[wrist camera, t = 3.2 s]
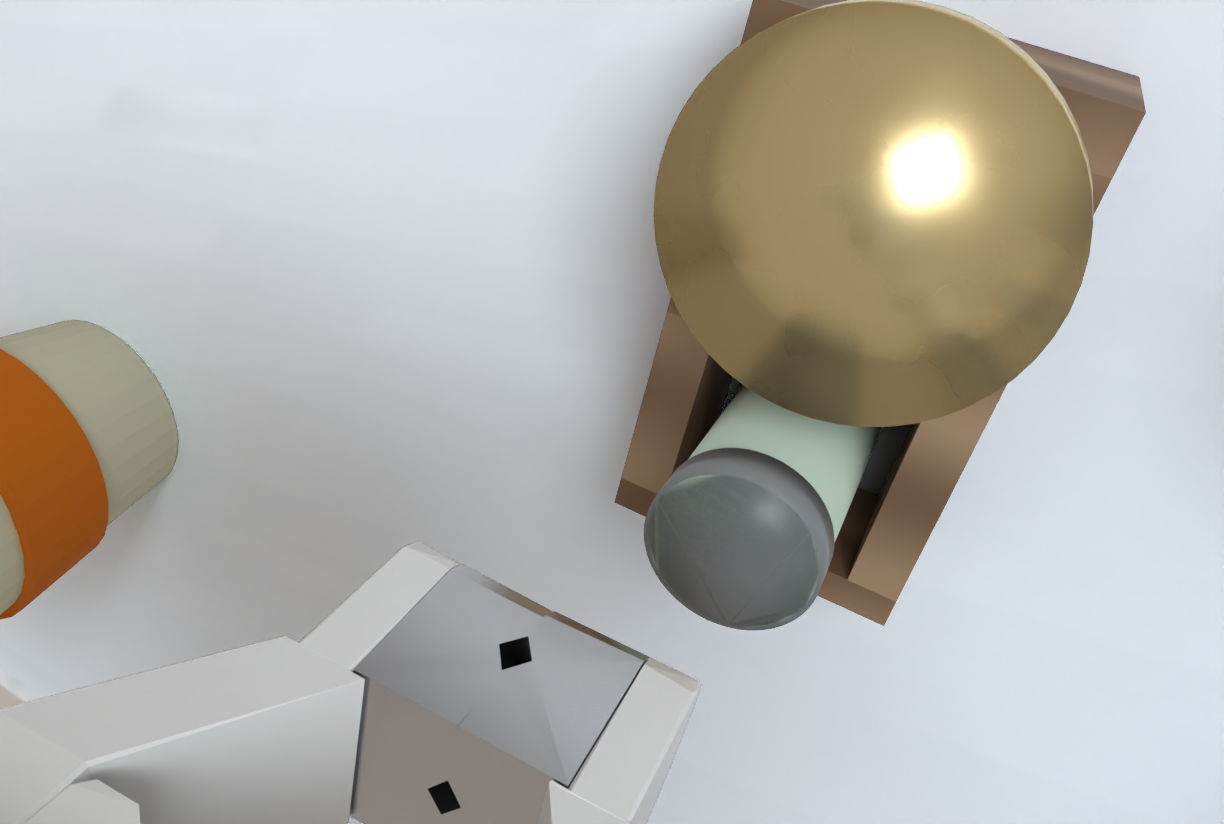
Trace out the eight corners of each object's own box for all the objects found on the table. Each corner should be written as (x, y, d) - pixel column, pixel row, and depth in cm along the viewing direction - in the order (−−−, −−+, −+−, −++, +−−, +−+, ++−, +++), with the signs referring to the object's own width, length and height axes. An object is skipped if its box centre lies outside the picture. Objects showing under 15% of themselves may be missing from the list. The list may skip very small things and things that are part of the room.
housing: (910, 537, 33) (883, 625, 29) (670, 433, 36) (614, 502, 32) (1139, 76, 25) (1145, 112, 21) (807, -23, 27) (755, -8, 23)
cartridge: (866, 471, 33) (788, 658, 25) (740, 418, 34) (626, 581, 26) (917, 354, 31) (850, 521, 23) (779, 301, 32) (668, 441, 24)
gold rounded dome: (999, 380, 27) (976, 487, 22) (698, 264, 29) (616, 338, 24) (1169, 43, 22) (1188, 86, 17) (792, -66, 24) (714, -55, 19)
